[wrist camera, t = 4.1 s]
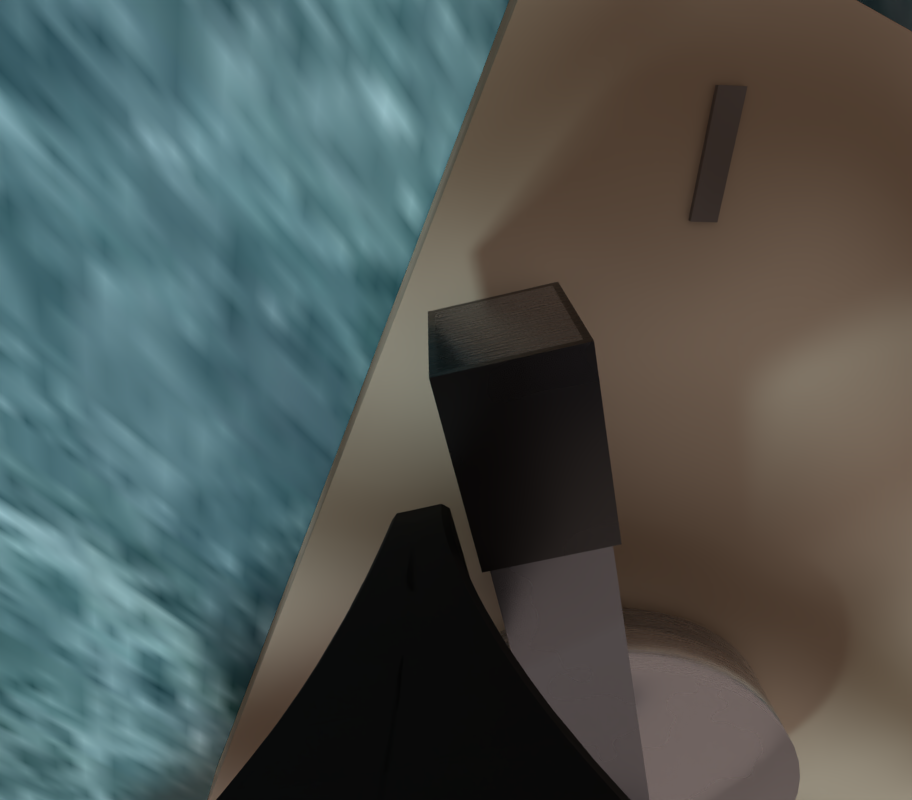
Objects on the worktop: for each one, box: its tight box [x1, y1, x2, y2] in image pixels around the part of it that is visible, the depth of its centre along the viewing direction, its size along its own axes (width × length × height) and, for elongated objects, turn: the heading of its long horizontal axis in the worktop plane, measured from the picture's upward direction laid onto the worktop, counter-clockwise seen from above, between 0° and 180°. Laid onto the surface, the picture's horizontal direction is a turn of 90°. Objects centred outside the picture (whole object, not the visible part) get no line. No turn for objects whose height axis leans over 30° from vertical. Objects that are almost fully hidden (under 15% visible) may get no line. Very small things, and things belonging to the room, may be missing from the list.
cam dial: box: [428, 282, 800, 800], centre depth 11 cm, size 15×8×4 cm, turn 13°
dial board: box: [208, 0, 912, 800], centre depth 14 cm, size 20×18×1 cm
